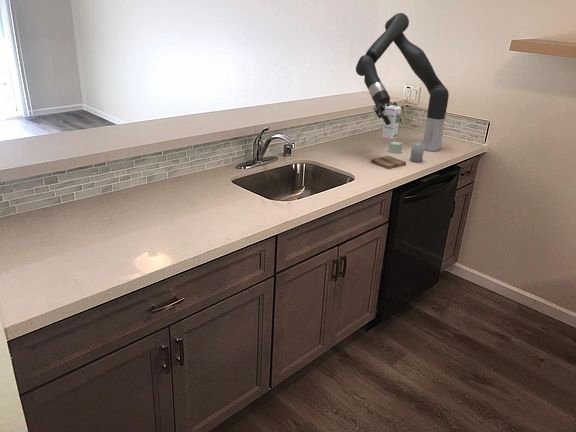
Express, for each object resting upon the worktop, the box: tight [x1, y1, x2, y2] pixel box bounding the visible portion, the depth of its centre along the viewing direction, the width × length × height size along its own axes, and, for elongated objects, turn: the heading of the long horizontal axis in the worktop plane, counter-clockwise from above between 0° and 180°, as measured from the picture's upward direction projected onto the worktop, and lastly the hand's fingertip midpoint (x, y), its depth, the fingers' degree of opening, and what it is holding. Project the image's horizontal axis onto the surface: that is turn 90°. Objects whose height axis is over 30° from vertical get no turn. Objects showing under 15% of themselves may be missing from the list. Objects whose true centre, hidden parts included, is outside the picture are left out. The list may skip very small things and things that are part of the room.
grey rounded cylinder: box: [409, 141, 425, 164], centre depth 238 cm, size 6×6×9 cm
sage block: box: [388, 140, 403, 155], centre depth 252 cm, size 5×5×5 cm
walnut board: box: [370, 155, 407, 170], centre depth 234 cm, size 12×12×2 cm
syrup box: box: [382, 105, 402, 140], centre depth 226 cm, size 6×6×14 cm
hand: (394, 123), depth 225 cm, fingers closed on syrup box, 7 cm apart
